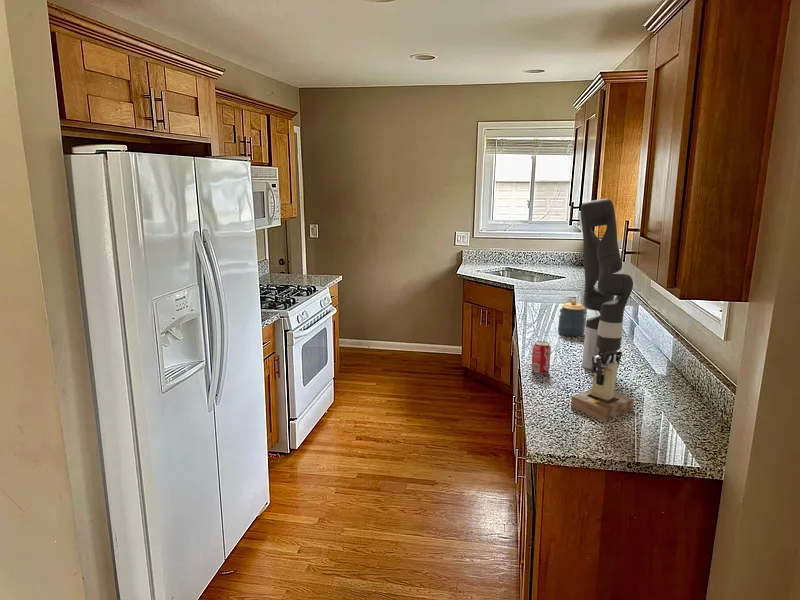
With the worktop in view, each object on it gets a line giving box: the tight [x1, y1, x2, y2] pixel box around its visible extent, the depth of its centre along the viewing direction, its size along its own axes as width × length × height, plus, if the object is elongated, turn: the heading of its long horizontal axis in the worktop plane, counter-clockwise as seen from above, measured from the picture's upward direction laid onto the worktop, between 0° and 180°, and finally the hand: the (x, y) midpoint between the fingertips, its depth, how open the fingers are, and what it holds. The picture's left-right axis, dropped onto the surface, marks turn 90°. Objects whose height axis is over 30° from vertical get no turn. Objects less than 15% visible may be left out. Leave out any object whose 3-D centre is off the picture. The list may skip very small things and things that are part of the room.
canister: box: [557, 299, 587, 337], centre depth 270 cm, size 13×13×18 cm
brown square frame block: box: [570, 389, 635, 422], centre depth 180 cm, size 16×13×4 cm
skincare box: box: [591, 363, 619, 400], centre depth 178 cm, size 6×4×12 cm
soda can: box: [531, 340, 552, 375], centre depth 214 cm, size 7×7×12 cm
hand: (604, 382), depth 179 cm, fingers closed on skincare box, 4 cm apart
